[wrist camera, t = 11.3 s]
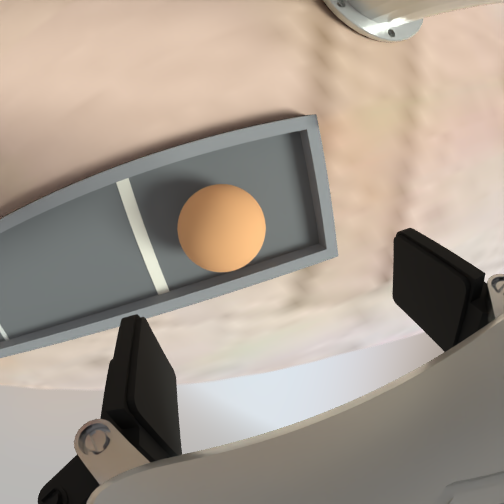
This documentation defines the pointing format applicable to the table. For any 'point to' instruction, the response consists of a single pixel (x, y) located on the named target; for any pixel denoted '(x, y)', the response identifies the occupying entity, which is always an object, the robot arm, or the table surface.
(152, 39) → the table surface
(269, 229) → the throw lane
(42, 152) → the table surface
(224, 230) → the ball
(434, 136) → the table surface
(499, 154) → the table surface
